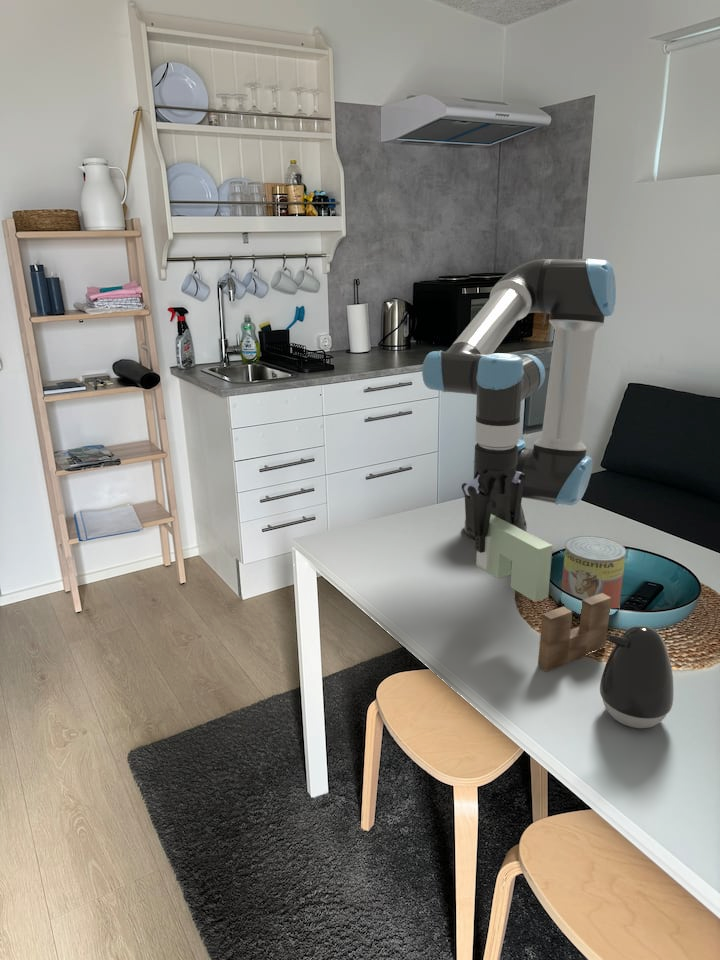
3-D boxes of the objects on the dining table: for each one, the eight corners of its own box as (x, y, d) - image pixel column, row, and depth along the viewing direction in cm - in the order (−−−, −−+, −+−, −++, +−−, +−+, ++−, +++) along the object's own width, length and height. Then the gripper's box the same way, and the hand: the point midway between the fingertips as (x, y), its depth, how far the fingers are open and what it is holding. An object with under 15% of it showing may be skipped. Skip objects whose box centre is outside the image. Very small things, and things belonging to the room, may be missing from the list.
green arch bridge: (488, 561, 133) (490, 513, 129) (548, 597, 119) (552, 545, 116) (476, 565, 131) (477, 517, 128) (535, 602, 118) (539, 549, 115)
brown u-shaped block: (596, 642, 124) (602, 592, 120) (605, 648, 122) (611, 597, 119) (537, 665, 117) (542, 613, 114) (546, 671, 116) (550, 619, 112)
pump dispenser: (585, 697, 109) (594, 612, 104) (648, 693, 110) (661, 608, 105) (612, 741, 99) (625, 650, 94) (682, 736, 100) (698, 645, 95)
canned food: (551, 606, 136) (556, 551, 132) (570, 584, 145) (575, 531, 141) (610, 623, 130) (617, 565, 126) (626, 598, 139) (633, 544, 135)
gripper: (517, 431, 128) (510, 546, 136) (446, 446, 121) (444, 566, 129) (546, 441, 122) (537, 560, 130) (473, 457, 115) (469, 583, 123)
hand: (491, 563), depth 129 cm, fingers closed on green arch bridge, 3 cm apart
